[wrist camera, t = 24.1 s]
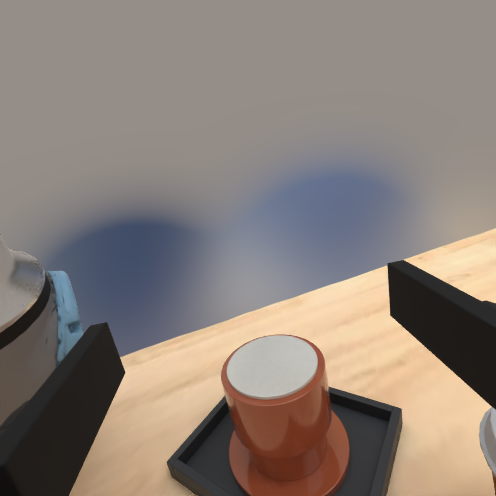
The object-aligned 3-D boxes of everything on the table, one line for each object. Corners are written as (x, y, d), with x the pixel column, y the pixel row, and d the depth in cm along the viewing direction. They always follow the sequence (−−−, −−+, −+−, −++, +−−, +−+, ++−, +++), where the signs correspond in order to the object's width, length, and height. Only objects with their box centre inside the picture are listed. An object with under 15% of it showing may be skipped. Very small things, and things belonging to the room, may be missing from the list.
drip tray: (171, 476, 30) (166, 461, 30) (255, 375, 42) (252, 363, 41) (359, 613, 19) (357, 593, 19) (402, 423, 31) (401, 408, 30)
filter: (374, 495, 25) (363, 395, 22) (232, 529, 24) (203, 431, 22) (324, 387, 37) (313, 313, 34) (229, 408, 37) (210, 336, 34)
